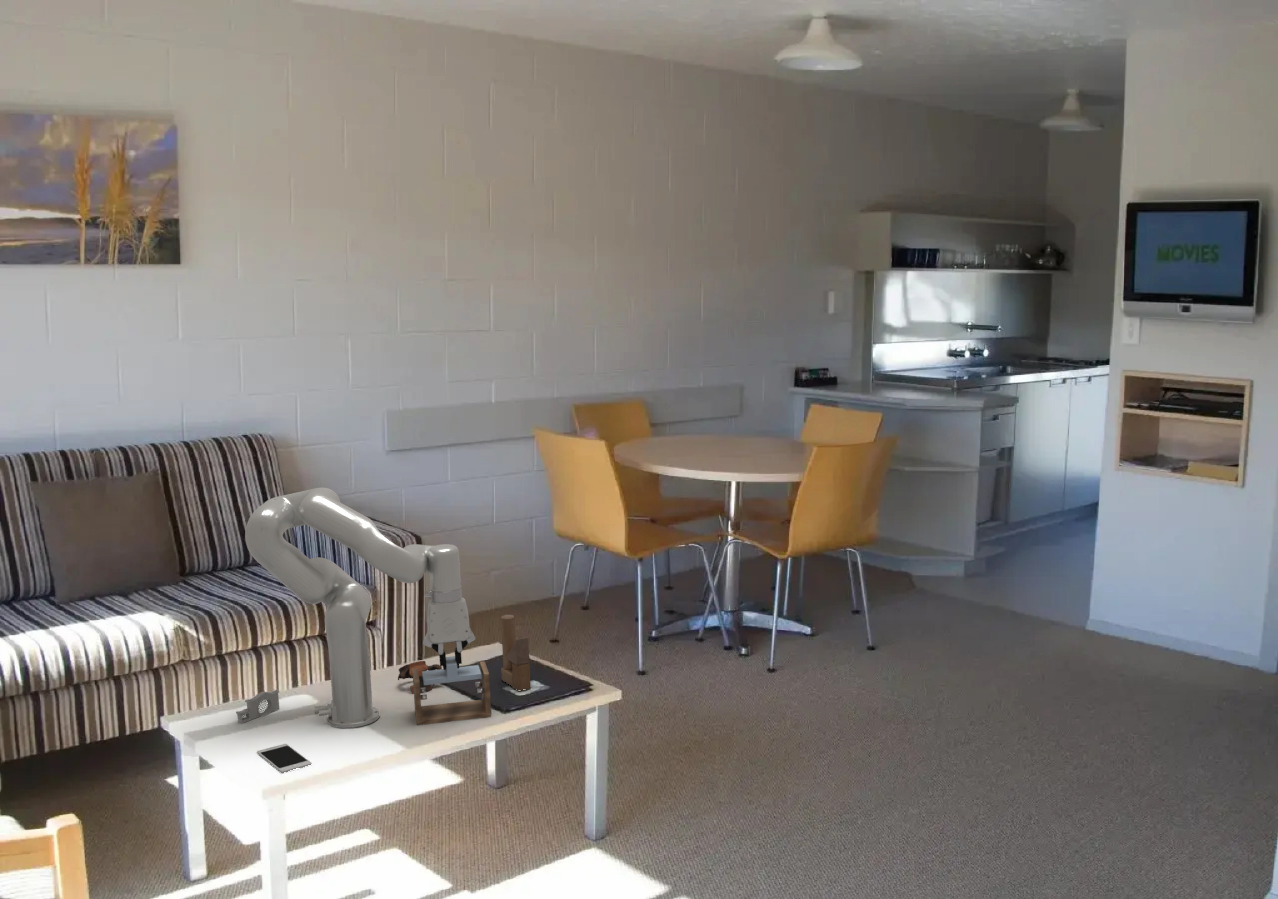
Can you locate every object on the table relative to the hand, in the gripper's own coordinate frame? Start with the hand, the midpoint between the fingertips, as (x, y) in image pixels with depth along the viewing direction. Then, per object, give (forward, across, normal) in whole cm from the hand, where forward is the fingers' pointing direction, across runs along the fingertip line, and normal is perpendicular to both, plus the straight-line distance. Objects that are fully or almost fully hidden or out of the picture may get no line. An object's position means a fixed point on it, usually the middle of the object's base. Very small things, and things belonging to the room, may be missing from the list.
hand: (451, 667), depth 301 cm
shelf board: (+3, 0, 0) cm, 3 cm away
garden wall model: (+12, -47, +14) cm, 51 cm away
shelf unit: (+12, 0, 0) cm, 12 cm away
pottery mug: (+12, -7, +22) cm, 26 cm away
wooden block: (+12, +18, +16) cm, 27 cm away
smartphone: (+12, -40, -16) cm, 45 cm away
